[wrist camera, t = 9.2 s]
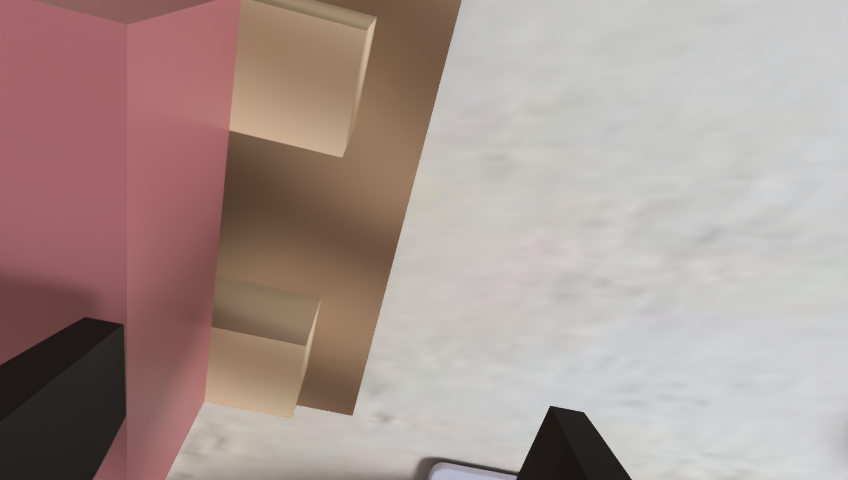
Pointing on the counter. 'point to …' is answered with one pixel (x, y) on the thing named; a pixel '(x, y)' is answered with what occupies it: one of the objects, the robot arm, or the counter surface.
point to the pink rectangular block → (118, 194)
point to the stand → (317, 192)
